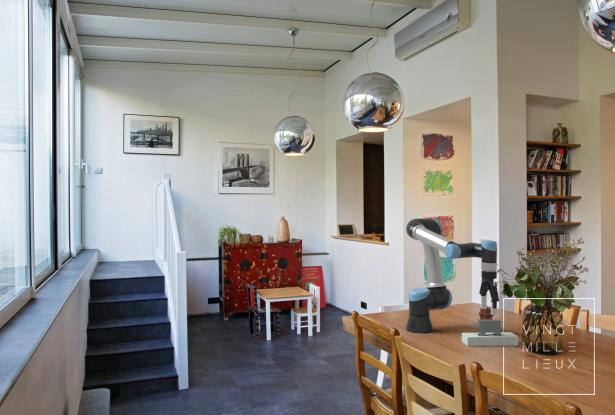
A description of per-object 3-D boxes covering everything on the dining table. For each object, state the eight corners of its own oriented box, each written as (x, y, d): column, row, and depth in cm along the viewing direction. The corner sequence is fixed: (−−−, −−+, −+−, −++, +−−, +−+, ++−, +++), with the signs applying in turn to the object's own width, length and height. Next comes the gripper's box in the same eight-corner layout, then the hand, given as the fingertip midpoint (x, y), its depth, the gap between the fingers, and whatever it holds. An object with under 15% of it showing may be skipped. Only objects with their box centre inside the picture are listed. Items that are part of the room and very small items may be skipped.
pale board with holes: (467, 346, 252) (467, 337, 252) (461, 341, 261) (461, 332, 261) (518, 345, 253) (518, 336, 253) (510, 340, 262) (510, 332, 262)
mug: (495, 335, 273) (495, 308, 273) (479, 334, 275) (479, 307, 275) (490, 329, 288) (490, 303, 288) (476, 328, 289) (475, 302, 289)
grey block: (480, 344, 255) (480, 321, 255) (478, 342, 259) (478, 319, 259) (501, 344, 256) (500, 320, 256) (498, 342, 259) (498, 319, 259)
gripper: (506, 274, 245) (506, 317, 245) (487, 267, 270) (486, 306, 270) (491, 274, 245) (490, 317, 245) (473, 267, 270) (473, 306, 270)
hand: (488, 311), depth 258 cm, fingers open, 13 cm apart
